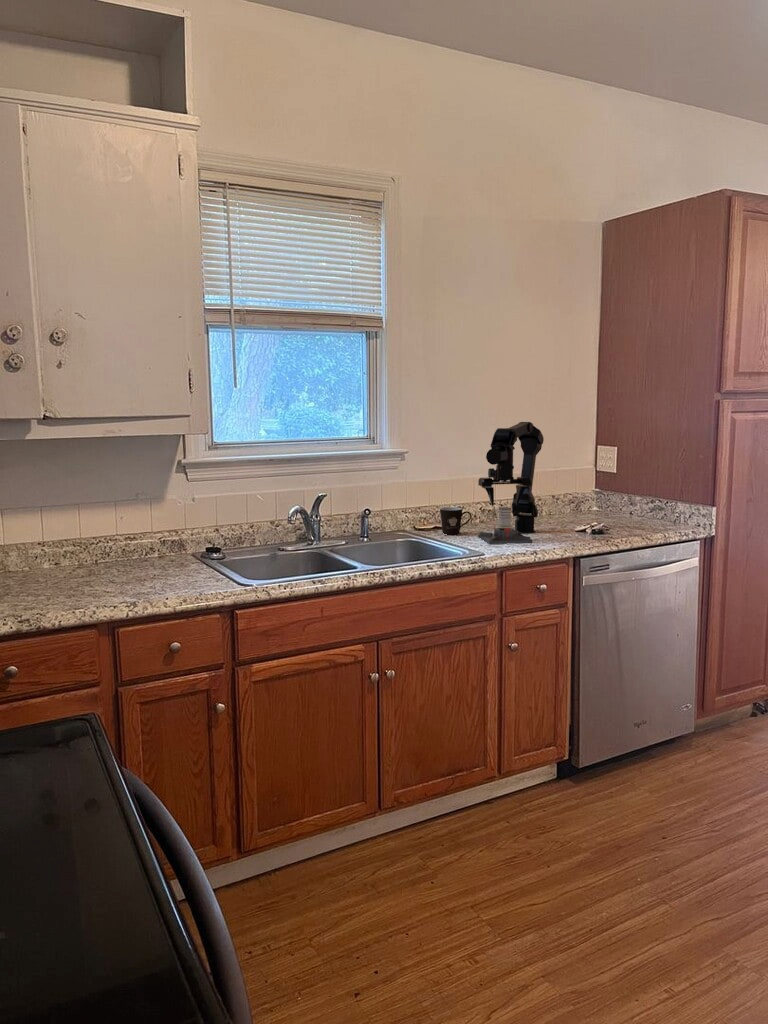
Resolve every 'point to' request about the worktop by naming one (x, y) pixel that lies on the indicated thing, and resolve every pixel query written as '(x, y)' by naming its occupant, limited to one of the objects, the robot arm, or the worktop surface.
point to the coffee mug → (452, 520)
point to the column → (504, 517)
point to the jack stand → (504, 536)
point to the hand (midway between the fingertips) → (504, 505)
